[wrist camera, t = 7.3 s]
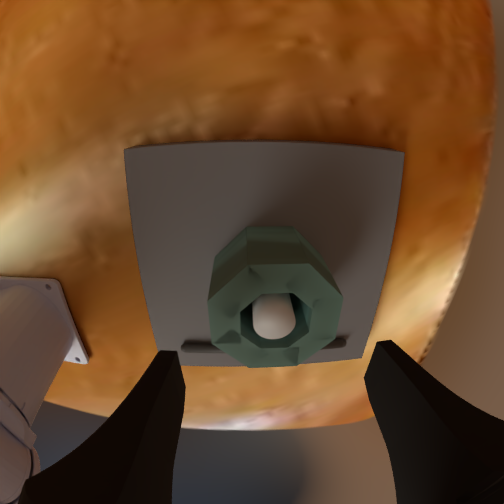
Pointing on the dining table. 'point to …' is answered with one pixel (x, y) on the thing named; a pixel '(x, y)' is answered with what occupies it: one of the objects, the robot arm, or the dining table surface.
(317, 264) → the bead
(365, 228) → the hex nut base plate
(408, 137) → the dining table surface
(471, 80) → the dining table surface
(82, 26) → the dining table surface
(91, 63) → the dining table surface
